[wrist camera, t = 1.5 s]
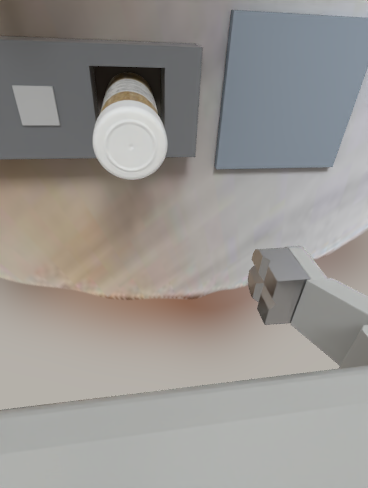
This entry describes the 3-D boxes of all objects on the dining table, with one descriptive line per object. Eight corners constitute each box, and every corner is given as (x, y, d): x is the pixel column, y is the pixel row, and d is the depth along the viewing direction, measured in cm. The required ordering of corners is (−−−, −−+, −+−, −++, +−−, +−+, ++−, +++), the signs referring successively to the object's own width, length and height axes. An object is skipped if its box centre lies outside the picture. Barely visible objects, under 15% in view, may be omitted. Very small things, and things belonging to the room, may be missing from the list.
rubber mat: (231, 10, 26) (234, 10, 25) (379, 18, 28) (384, 18, 27) (214, 166, 34) (216, 169, 34) (328, 164, 36) (332, 167, 36)
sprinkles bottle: (136, 131, 31) (140, 194, 20) (95, 102, 29) (77, 156, 18) (163, 92, 29) (183, 139, 19) (121, 58, 27) (118, 88, 16)
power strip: (-110, 31, 24) (-149, 34, 20) (194, 43, 27) (204, 48, 24) (-59, 146, 29) (-84, 164, 26) (189, 144, 32) (196, 159, 29)
